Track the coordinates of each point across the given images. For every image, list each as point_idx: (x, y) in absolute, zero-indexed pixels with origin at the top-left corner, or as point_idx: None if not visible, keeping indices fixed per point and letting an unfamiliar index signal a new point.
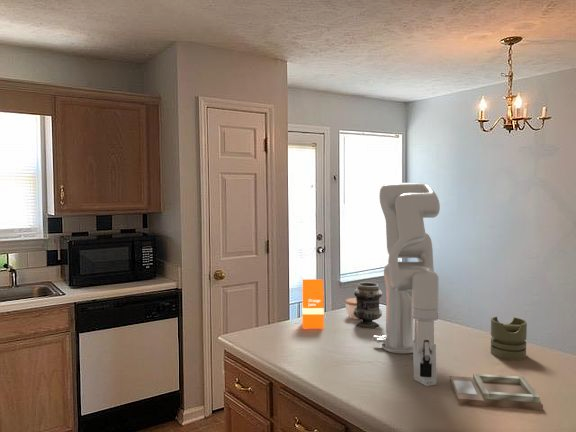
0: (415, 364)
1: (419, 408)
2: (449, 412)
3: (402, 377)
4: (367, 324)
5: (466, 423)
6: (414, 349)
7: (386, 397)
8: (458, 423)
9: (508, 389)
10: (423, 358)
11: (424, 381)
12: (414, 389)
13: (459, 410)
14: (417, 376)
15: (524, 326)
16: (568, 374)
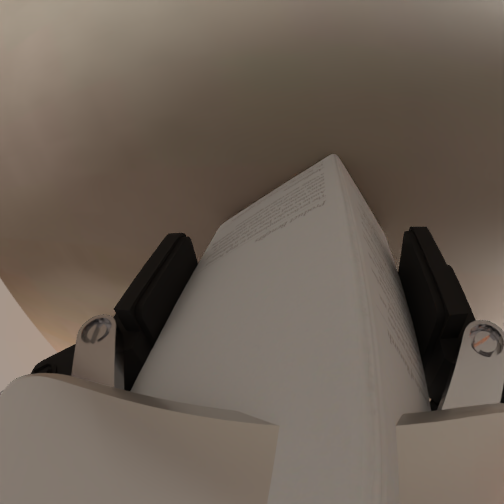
0: (302, 225)
1: (12, 201)
2: (46, 287)
3: (353, 65)
4: None
5: (31, 310)
6: (300, 387)
7: (22, 53)
8: (19, 294)
9: None
10: (34, 371)
11: (216, 235)
12: (152, 161)
13: (74, 314)
14: (284, 192)
15: None
16: None
